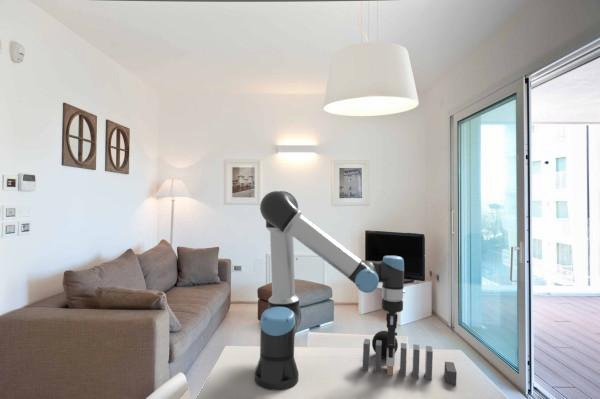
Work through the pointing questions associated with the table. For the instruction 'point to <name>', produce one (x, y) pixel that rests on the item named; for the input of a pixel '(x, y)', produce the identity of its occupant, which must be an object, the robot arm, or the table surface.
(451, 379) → the block
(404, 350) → the domino
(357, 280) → the robot arm
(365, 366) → the domino
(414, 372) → the domino
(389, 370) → the domino
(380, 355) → the domino
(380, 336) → the black ball
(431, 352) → the domino
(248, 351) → the table surface
